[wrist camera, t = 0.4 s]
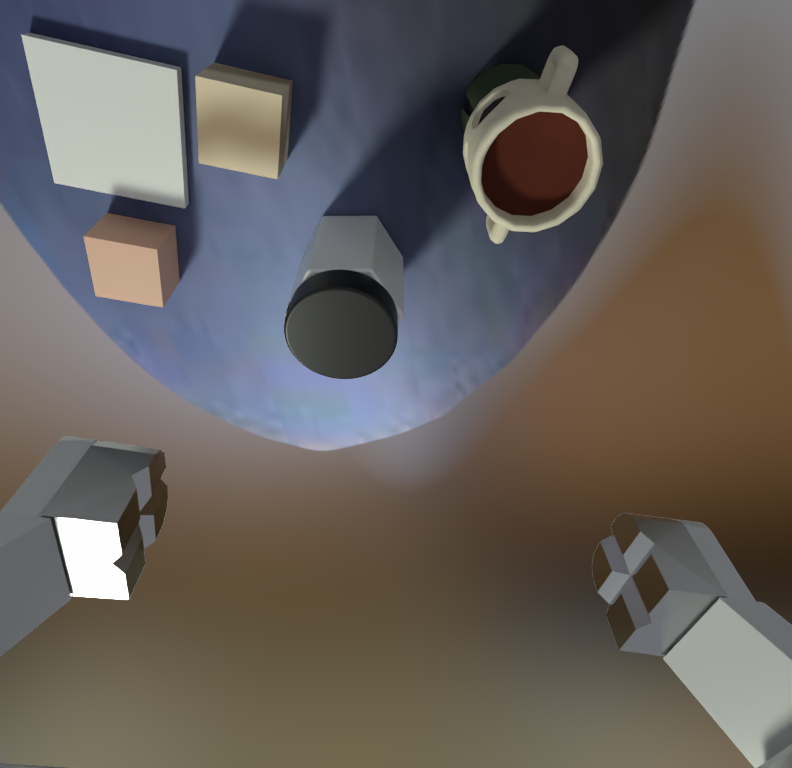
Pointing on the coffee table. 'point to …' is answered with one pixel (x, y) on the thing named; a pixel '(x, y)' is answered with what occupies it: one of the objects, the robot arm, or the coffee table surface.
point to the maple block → (243, 120)
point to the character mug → (529, 146)
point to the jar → (346, 298)
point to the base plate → (110, 120)
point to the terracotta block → (133, 259)
